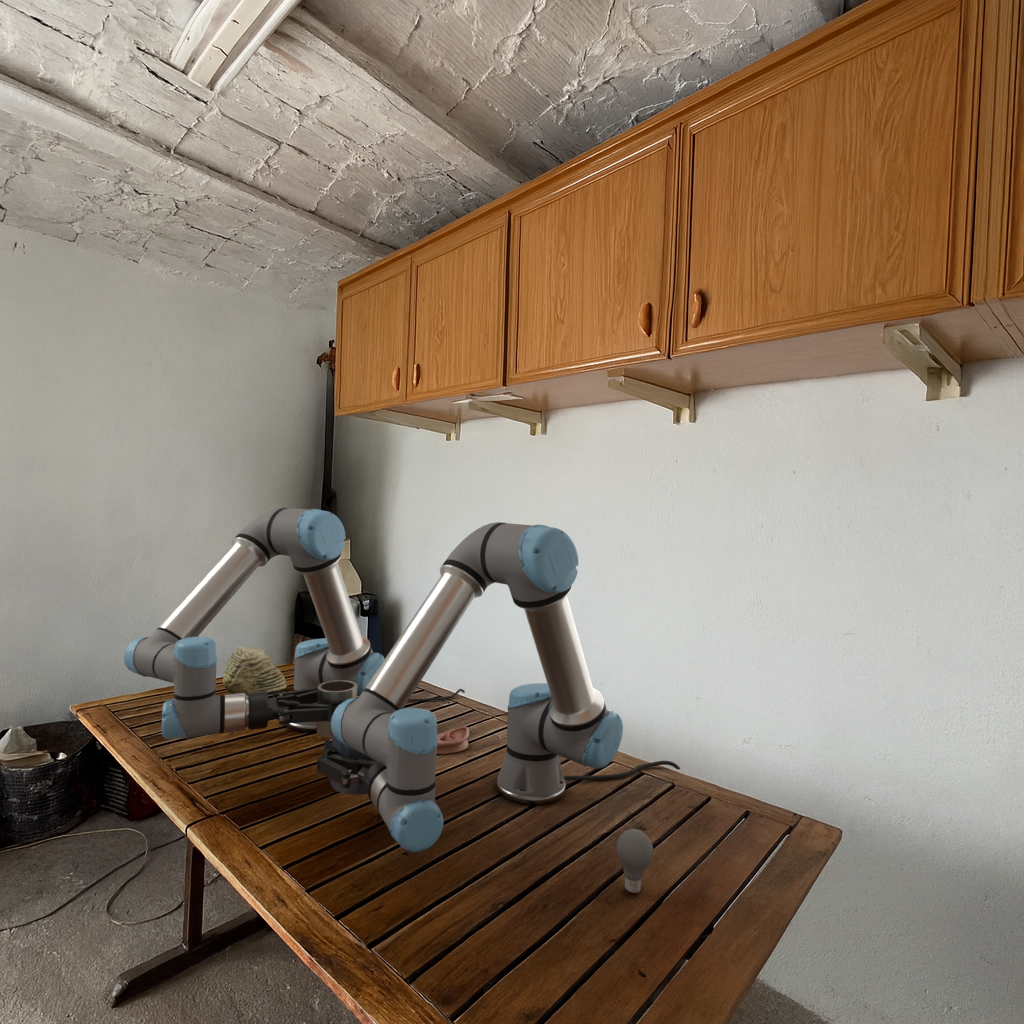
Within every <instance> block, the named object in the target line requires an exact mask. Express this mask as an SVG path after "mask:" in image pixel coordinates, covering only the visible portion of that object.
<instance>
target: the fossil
mask: <svg viewBox="0 0 1024 1024" xmlns="http://www.w3.org/2000/svg"><path fill="white" fill-rule="evenodd" d="M222 676H223V677H222V685H223V687H224V688H225V690H226V691H228V693H229V694H238V693H245V694H246V696H248V694H250V693H251V692H261V691H266V692H267V694H268V697H271V696H272V697H273V696H274V693H279V692H286V689H287V687H288V686H287V680H286V678H285V676H284V674H283V673H282V672H281V669H279V668H278V667H277V665H276V663H275V662H274V660H273V659H272V658H271V657H270V656H269V655H268V654H267V653H266V652H265V650H264V649H263V648H260V647H258V648H251V647H247V646H246V647H245V646H238V647H237V648H236V649H235V650H233V651H232V653H231V656H230V657H229V659H228V660H227V663H226V666H225V668H224V671H223V675H222Z"/></svg>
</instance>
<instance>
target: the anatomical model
mask: <svg viewBox="0 0 1024 1024" xmlns="http://www.w3.org/2000/svg"><path fill="white" fill-rule="evenodd" d="M469 736H470V729H469V727H468V726H460V727H455V728H453V729H449V730H447V731H444V732H441V733H437V738H438V744H437V755H443V754H451V753H458V752H461V751H464V750H466V749H467V748H468V747H469V742H468V740H467V739H468V738H469Z"/></svg>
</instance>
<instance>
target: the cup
mask: <svg viewBox="0 0 1024 1024" xmlns="http://www.w3.org/2000/svg"><path fill="white" fill-rule="evenodd" d="M352 698H354V699H358V696H357V684H356V683H355V682H352V681H346V680H334V681H328V682H324V683H322V684H320V685H319V686H318V691H317V704H324V705H331V703H332V702H341V701H346V700H348V699H352ZM323 713H324V712H323ZM331 720H332V716H331ZM316 735H318V736H320V737H322V738H326V739H332V729H331V721H321V722H317V732H316Z"/></svg>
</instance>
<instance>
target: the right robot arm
mask: <svg viewBox="0 0 1024 1024" xmlns="http://www.w3.org/2000/svg"><path fill="white" fill-rule="evenodd" d="M578 566H579V553H578V551H577V547H576V545H575V543H574V541H573V540H572V538H571V537H570V535H568V533H566V532H565V531H563V530H562V529H560V528H557V527H552V526H549V525H545V524H534V525H533V524H521V523H511V522H509V523H508V522H501V521H499V522H497V521H496V522H491V523H490V522H489V523H488V524H485V525H482V526H481V527H478V528H476V529H475V530H474V531H472V532H470V533H469V534H468V535H467V536H466V537H464V538H463V540H461V542H459V544H458V545H457V546H455V548H454V549H453V550H452V551H451V553H449V555H448V557H447V558H446V559H445V561H444V562H443V563H442V565H441V566H440V568H439V574H440V577H439V578H438V580H437V581H436V583H435V584H434V586H433V587H432V589H431V590H430V592H429V593H428V595H426V597H425V599H424V601H423V602H422V603H421V605H420V606H419V608H418V609H417V611H416V612H415V614H414V615H413V617H412V618H411V620H410V621H409V623H408V624H407V626H406V627H405V628H404V630H403V632H402V633H401V635H400V636H399V637H398V639H397V640H396V641H395V643H394V645H393V646H392V648H391V649H390V651H389V652H388V654H387V655H386V656H385V657H384V659H385V660H384V661H383V663H382V664H381V666H380V667H379V668H378V670H377V671H376V673H375V674H374V676H373V677H372V679H371V680H370V682H369V683H368V685H367V686H366V688H365V690H364V691H363V692H362V694H361V695H360V696H358V697H357V699H354V698H352V699H348V700H346V701H344V702H343V703H342V704H340V705H339V706H338V707H337V708H336V710H335V711H334V713H333V716H332V720H331V729H332V732H333V734H334V736H335V737H336V738H337V740H339V741H340V742H342V743H344V744H345V745H346V746H347V747H348V748H350V749H354V750H356V751H358V752H360V753H362V754H364V755H366V756H368V757H370V758H372V759H374V760H376V761H367V760H364V759H359V760H353V759H350V758H346V757H342V756H339V755H336V750H335V749H334V747H333V745H332V741H331V740H330V738H326V739H324V748H323V750H322V755H321V756H317V758H316V772H317V773H319V774H320V775H322V776H324V777H326V778H328V779H329V780H330V779H332V780H334V781H335V782H337V783H339V784H340V785H341V786H342V788H344V789H348V788H349V787H350V784H351V783H354V782H358V783H359V784H361V785H363V786H364V789H365V791H366V793H367V794H366V795H367V797H368V798H369V800H370V801H371V803H372V804H373V806H374V807H375V809H376V811H377V813H378V814H379V816H380V817H381V818H382V820H383V822H384V824H385V826H386V827H387V829H388V830H389V833H390V836H391V837H392V839H393V840H394V841H396V843H398V845H399V846H400V848H402V849H403V850H405V851H406V852H410V853H418V852H419V853H420V852H423V851H425V850H428V849H430V848H431V847H432V846H433V845H434V844H435V843H436V842H437V841H438V840H439V838H440V836H441V835H442V832H443V829H444V816H443V813H442V811H441V809H440V806H439V805H438V803H437V802H436V774H437V773H436V772H437V771H436V770H437V756H438V754H437V744H438V738H437V735H438V720H437V716H436V715H435V714H434V713H433V711H430V710H429V709H425V708H418V707H406V705H407V704H408V700H409V699H411V698H412V696H413V694H414V693H415V691H416V690H417V688H418V686H419V685H420V683H421V682H422V680H423V678H424V677H425V675H426V674H427V672H428V670H429V669H430V667H431V666H432V665H433V663H434V661H436V658H437V656H438V655H439V653H440V652H441V650H442V649H443V647H444V645H445V644H446V643H447V641H448V640H449V638H450V636H451V635H452V633H453V632H454V630H455V629H456V627H457V625H458V624H459V622H460V621H461V619H462V617H463V616H464V614H465V613H466V611H467V609H468V608H469V606H470V605H471V604H472V602H473V600H474V599H475V598H480V597H482V595H484V593H485V591H486V589H487V588H488V587H490V586H491V585H492V584H495V583H496V584H501V585H507V586H508V590H509V592H510V595H511V598H512V599H511V600H512V602H513V603H514V605H515V606H517V607H518V608H520V609H523V611H524V614H525V616H526V621H527V623H528V626H529V629H530V632H531V635H532V640H533V642H534V645H535V649H536V653H537V655H538V658H539V661H540V664H541V668H542V671H543V674H544V677H545V680H546V683H543V682H540V683H538V682H537V683H526V684H521V685H518V686H516V687H514V688H513V689H512V690H510V692H509V697H508V705H507V725H506V726H507V728H506V752H505V756H504V759H503V761H502V764H501V766H500V770H499V773H498V775H497V779H496V790H497V792H498V794H500V796H502V797H503V798H505V799H507V800H509V801H511V802H515V803H518V804H522V805H530V806H531V805H532V806H538V805H546V804H547V805H548V804H551V803H554V802H558V800H561V798H563V797H564V795H565V793H566V781H597V780H598V781H599V780H600V781H601V780H603V781H604V780H614V779H620V778H624V777H628V776H631V775H633V774H635V773H636V772H638V771H640V770H642V769H646V768H647V769H648V768H652V767H658V766H665V765H666V766H671V767H673V768H674V769H675V770H681V767H680V766H679V765H678V764H677V763H675V762H673V761H670V760H658V761H657V760H656V761H653V762H648V763H642V764H639V765H637V766H634V767H633V768H631V769H630V770H627V771H624V772H619V773H612V774H600V775H564V772H563V769H562V766H561V761H560V758H559V757H561V758H565V759H567V760H569V761H571V762H574V763H577V764H578V765H581V766H583V767H590V768H592V769H596V770H601V769H603V768H605V767H607V766H608V765H609V764H610V763H611V762H612V761H613V759H614V758H615V757H616V754H617V753H618V750H619V748H620V746H621V743H622V739H623V734H624V733H623V732H624V723H623V719H622V717H621V716H620V714H618V713H616V712H615V711H614V710H612V711H610V710H609V709H607V706H606V702H605V698H604V697H603V694H602V693H601V692H600V691H599V690H598V689H597V688H595V687H593V683H592V679H591V676H590V672H589V669H588V665H587V661H586V658H585V655H584V651H583V648H582V644H581V640H580V636H579V634H578V630H577V626H576V622H575V619H574V615H573V612H572V607H571V605H570V601H569V598H568V596H569V595H570V593H571V592H572V589H573V584H574V583H575V581H576V579H577V576H578V573H579V570H578V569H577V567H578ZM362 766H363V767H362Z"/></svg>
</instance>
